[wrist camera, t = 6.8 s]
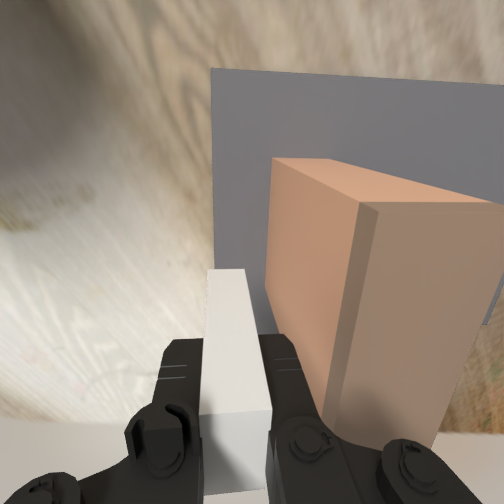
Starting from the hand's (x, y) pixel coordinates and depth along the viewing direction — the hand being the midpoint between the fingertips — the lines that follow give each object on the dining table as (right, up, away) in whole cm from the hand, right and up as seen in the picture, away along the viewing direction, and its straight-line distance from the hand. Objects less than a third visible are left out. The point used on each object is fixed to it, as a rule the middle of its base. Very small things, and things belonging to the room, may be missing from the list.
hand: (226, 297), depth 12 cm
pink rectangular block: (+4, +4, +9) cm, 11 cm away
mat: (+11, +4, +11) cm, 16 cm away
